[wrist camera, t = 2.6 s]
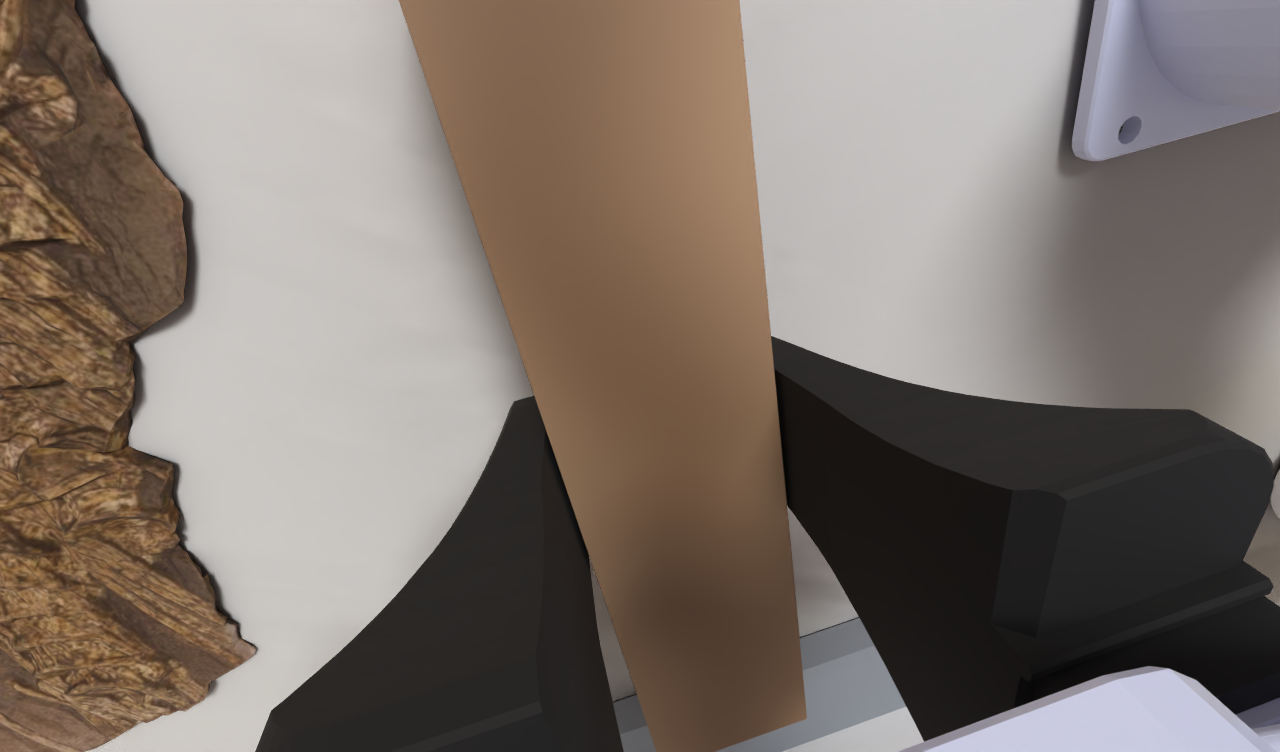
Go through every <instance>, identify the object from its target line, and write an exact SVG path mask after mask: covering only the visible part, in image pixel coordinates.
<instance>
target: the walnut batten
mask: <svg viewBox="0 0 1280 752" xmlns="http://www.w3.org/2000/svg"><path fill="white" fill-rule="evenodd" d="M399 2H400V5H401V8H402V11H403V14H404V17H405V20H406V23H407V25H408V28H409V31H410V34H411V37H412V40H413V43H414V46H415V49H416V52H417V55H418V58H419V61H420V63H421V66H422V69H423V72H424V75H425V78H426V81H427V84H428V87H429V90H430V93H431V96H432V98H433V101H434V104H435V107H436V110H437V113H438V116H439V119H440V122H441V125H442V128H443V131H444V133H445V136H446V139H447V142H448V145H449V148H450V151H451V154H452V157H453V160H454V163H455V166H456V168H457V171H458V174H459V177H460V180H461V183H462V186H463V189H464V192H465V195H466V198H467V201H468V203H469V206H470V209H471V212H472V215H473V218H474V221H475V224H476V227H477V230H478V233H479V236H480V238H481V241H482V244H483V247H484V250H485V253H486V256H487V259H488V262H489V265H490V268H491V271H492V273H493V276H494V279H495V282H496V285H497V288H498V291H499V294H500V297H501V300H502V303H503V306H504V308H505V311H506V314H507V317H508V320H509V323H510V326H511V329H512V332H513V335H514V338H515V341H516V343H517V346H518V349H519V352H520V355H521V358H522V361H523V364H524V367H525V370H526V373H527V376H528V379H529V381H530V384H531V387H532V390H533V393H534V396H535V399H536V402H537V405H538V408H539V411H540V414H541V416H542V419H543V422H544V425H545V428H546V431H547V434H548V437H549V440H550V443H551V446H552V449H553V451H554V454H555V457H556V460H557V463H558V466H559V469H560V472H561V475H562V478H563V481H564V484H565V486H566V489H567V492H568V495H569V498H570V501H571V504H572V507H573V510H574V513H575V516H576V519H577V521H578V524H579V527H580V530H581V533H582V536H583V539H584V542H585V545H586V548H587V551H588V554H589V556H590V559H591V562H592V565H593V568H594V571H595V574H596V577H597V580H598V583H599V586H600V589H601V591H602V594H603V597H604V600H605V603H606V606H607V609H608V612H609V615H610V618H611V621H612V624H613V626H614V629H615V632H616V635H617V638H618V641H619V644H620V647H621V650H622V653H623V656H624V659H625V661H626V664H627V667H628V670H629V673H630V676H631V679H632V682H633V685H634V688H635V691H636V694H637V697H638V699H639V702H640V705H641V708H642V711H643V714H644V717H645V720H646V723H647V726H648V729H649V732H650V734H651V737H652V740H653V743H654V746H655V749H656V752H716V751H718V750H721V749H724V748H727V747H729V746H732V745H735V744H738V743H741V742H743V741H746V740H749V739H752V738H755V737H757V736H760V735H763V734H766V733H769V732H771V731H774V730H777V729H780V728H783V727H785V726H788V725H791V724H794V723H797V722H799V721H802V720H805V719H807V712H806V702H805V691H804V681H803V670H802V659H801V649H800V638H799V628H798V617H797V607H796V596H795V585H794V575H793V564H792V554H791V543H790V532H789V522H788V511H787V501H786V490H785V480H784V469H783V458H782V448H781V437H780V427H779V416H778V406H777V395H776V384H775V374H774V363H773V353H772V342H771V332H770V321H769V310H768V300H767V289H766V279H765V268H764V257H763V247H762V236H761V226H760V215H759V205H758V194H757V183H756V173H755V162H754V152H753V141H752V131H751V120H750V109H749V99H748V88H747V78H746V67H745V57H744V46H743V35H742V25H741V14H740V4H739V0H399Z"/></svg>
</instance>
